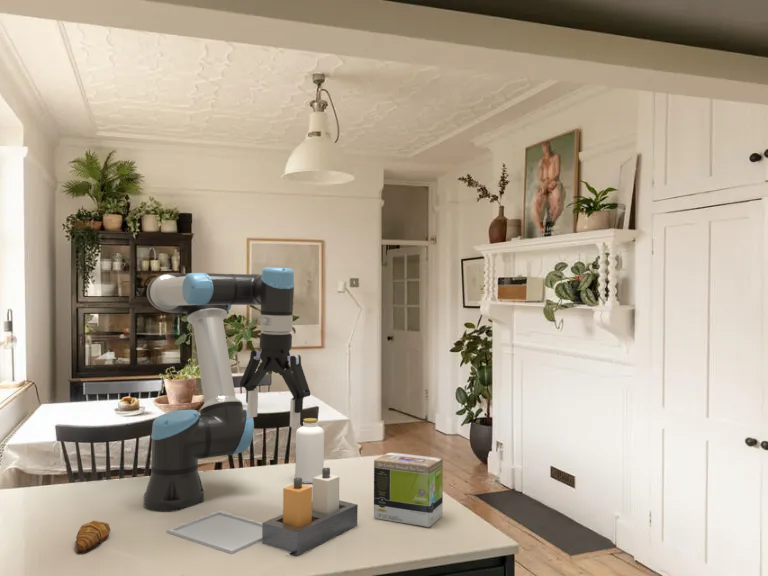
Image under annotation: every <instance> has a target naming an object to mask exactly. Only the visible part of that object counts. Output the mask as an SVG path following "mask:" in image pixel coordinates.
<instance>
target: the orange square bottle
mask: <svg viewBox="0 0 768 576" xmlns="http://www.w3.org/2000/svg"><path fill="white" fill-rule="evenodd" d="M282 496H283V497H282V501H283V502H282V514H283V523H285V524H289V525H292V526H296V527H299V528H300V527H302V526H304V525H306V524H309V523H311V522H312V486H309V485H306V484H303V483H302V478H295V477H294V478H293V484H292V485H288V486H286V487H284V488H283V494H282Z"/></svg>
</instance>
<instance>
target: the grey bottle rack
mask: <svg viewBox="0 0 768 576" xmlns="http://www.w3.org/2000/svg"><path fill="white" fill-rule="evenodd" d="M358 510H359V508H358V504H357V503H352V502H348V501H344V500H340V499H339V510H337V511H335V512H333V513H330V514H324V513H320V512H316V511H312V522H311V523H309V524H306V525H304V526H302V527H300V528H299V527H296V526H292V525H289V524H285V523H283V513H282V514H280V515H278V516H275V517H273V518H271V519H268V520H265V521H263V523H262V541H261V543H262V544H264V545H267V546H271V547H274V548H276V549H277V548H278V549H281V550H283V551H286V552H288V554H289V555H291V556H295V557H299V556H300V555H302V554H304V553H306V552H309V551H311V550H312V549H315V548H316V547H318V546H320V545H322V544H324V543H326V542H328V541H330V540H332V539H333V538H335V537H336V538H337V536H340V535H341V534H344V533H345V532H348V531H350V530H352V529H354V528H355V527H357V526H358V513H359V512H358Z"/></svg>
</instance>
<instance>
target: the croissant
mask: <svg viewBox="0 0 768 576" xmlns="http://www.w3.org/2000/svg"><path fill="white" fill-rule="evenodd" d="M111 530H112V529H111V527H110V524H109V523H107V522H102V521H96V520H92V521H89V522H87V523H85V524H82V525H81V526H80V528H79V530H78V532H77V534H76V537H75V538H76V539H75V546H76V547H75V548H76V550H77V551H76V552H77V553H78V554H85V553H88V552H91V551H92V550H94V549H96V547H97V546H99V545H100V544H102V542H105V540H107V537H108V536H109V534H110V532H111Z"/></svg>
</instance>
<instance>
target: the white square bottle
mask: <svg viewBox="0 0 768 576" xmlns="http://www.w3.org/2000/svg"><path fill="white" fill-rule="evenodd" d="M311 487H312V511H316V512H320V513H324V514H330V513H333V512H335V511H337V510H339V500H340V476H339V475H338V476H337V475H334V474H331V468H330V467H324V468H323V469H322V475H319V476H316V477H314V478H313V483H312V486H311Z"/></svg>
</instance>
